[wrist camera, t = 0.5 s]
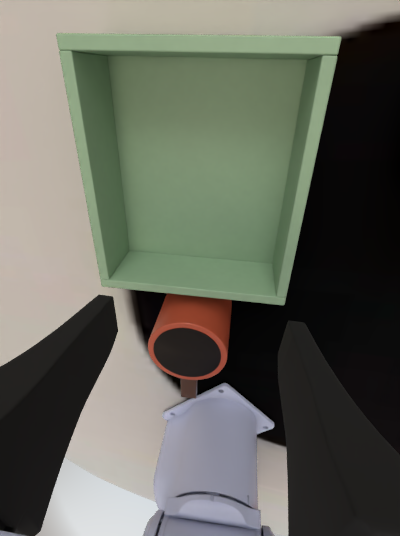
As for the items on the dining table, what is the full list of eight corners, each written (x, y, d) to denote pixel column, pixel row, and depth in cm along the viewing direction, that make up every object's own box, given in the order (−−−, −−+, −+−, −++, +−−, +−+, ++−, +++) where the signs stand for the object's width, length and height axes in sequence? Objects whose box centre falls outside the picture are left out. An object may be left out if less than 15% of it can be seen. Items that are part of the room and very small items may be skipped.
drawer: (278, 267, 23) (284, 305, 19) (125, 253, 24) (101, 286, 20) (320, 45, 16) (342, 36, 12) (99, 42, 17) (55, 33, 13)
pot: (165, 271, 24) (144, 318, 19) (234, 278, 24) (230, 328, 19) (169, 347, 29) (152, 401, 24) (227, 354, 28) (222, 411, 23)
